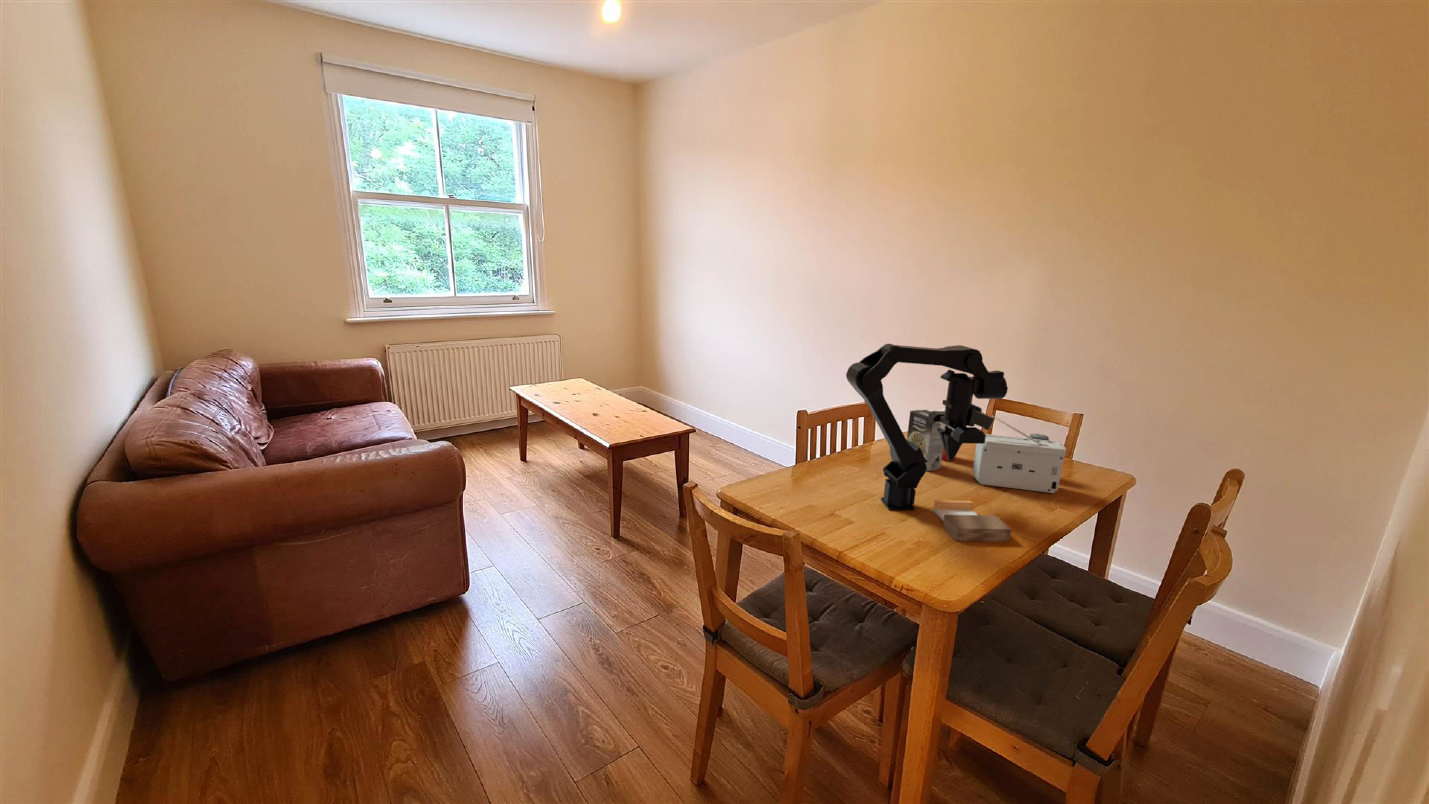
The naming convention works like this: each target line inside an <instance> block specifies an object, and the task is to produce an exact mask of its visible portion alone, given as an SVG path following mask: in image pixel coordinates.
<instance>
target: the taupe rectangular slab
mask: <svg viewBox="0 0 1429 804" xmlns="http://www.w3.org/2000/svg"><path fill="white" fill-rule="evenodd" d="M942 521H943V520H942ZM942 528H943V529H944V530H945V531H946V532H947V533H948V534H949V535H950V536H951V537H952V539H954V540H955V542H1004V543H1006V542H1008V543H1009V542H1010V540H1011V533H1012V528H1011V527H1010V526H1008V525H1007V523H1005V522H1004V521H1002V520H1001V519H1000V518H999V517H998V516H997V515H992V514H991V515H990V514H989V515H986V514H985V515H984V514H983V515H981V514H977V515H944V521H943V523H942Z"/></svg>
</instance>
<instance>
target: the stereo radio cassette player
mask: <svg viewBox="0 0 1429 804" xmlns="http://www.w3.org/2000/svg"><path fill="white" fill-rule="evenodd" d="M991 417H992V418H994V419H996V420H997V421H999V422H1001V423H1002V424H1004V425H1006V426H1007V427H1009V428H1010V429H1012V430H1013V431H1015V432H1017V433H1019V434H1021V435H1022V436H1024V437H1018V436H1007V435H1006V436H1005V435H998V434H997V435H995V434H990V433H989V434H988V433H985V435H986V439H985V443H984V444H977V443H976V444H975V447H976V448H975V453H974V459H973V464H972V465H973V466H972V475H973V476H974V478H975V479H976V481H977V482H978V483H979V484H980V485H981V486H983V485H986V486H992V487H993V486H994V487H1002V488H1008V489H1019V490H1025V491H1031V492H1032V491H1033V492H1040V493H1041V492H1042V493H1049V494H1051V493H1052V494H1054V493H1055V492H1057V491H1058V490H1059V486H1060V483H1061V482H1060V481H1061V476H1062V471H1063V466H1064V461H1065V456H1066V454H1067V448H1066V447H1065V445H1063V443H1062V442H1060V441H1056V440H1050V441H1047V440H1038V439H1033V438H1031V437H1029V436H1030V435H1028V434H1026V433H1024V432H1022V431H1020V430H1019V429H1017V428H1016V427H1013V426H1011V425H1010V424H1008V423H1006V422H1004V421H1002V420H1001V419H999V418H998V417H995V415H991ZM1028 438H1029V439H1028Z"/></svg>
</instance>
